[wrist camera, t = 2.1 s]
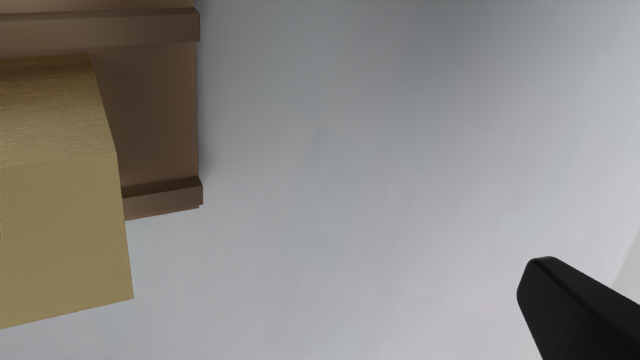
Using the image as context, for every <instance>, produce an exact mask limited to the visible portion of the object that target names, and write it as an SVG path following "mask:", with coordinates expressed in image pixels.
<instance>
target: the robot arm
mask: <svg viewBox="0 0 640 360" xmlns="http://www.w3.org/2000/svg"><path fill="white" fill-rule="evenodd" d="M517 301H518V304H519V307H520V309H521V311H522V314H523V316H524V318H525V321H526V323H527V325H528V327H529V330H530V332H531V334H532V336H533V339H534V341H535V343H536V346H537V348H538V350H539V352H540V355H541V357H542V359H543V360H640V305H639V304H637V303H635V302H634V301H632V300H630V299H628V298H626V297H625V296H623V295H621V294H619V293H618V292H616V291H614V290H612V289H611V288H609V287H607V286H605V285H603V284H602V283H600V282H598V281H596V280H595V279H593V278H591V277H589V276H587V275H586V274H584V273H582V272H580V271H579V270H577V269H575V268H573V267H571V266H570V265H568V264H566V263H564V262H563V261H561V260H559V259H557V258H555V257H552V256H546V257H540V258H534V259H531V260H530V261H529V262H528V263H527V265H526V268H525V270H524V273H523V275H522V278H521V281H520V283H519V286H518V288H517Z"/></svg>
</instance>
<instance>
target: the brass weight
mask: <svg viewBox="0 0 640 360" xmlns="http://www.w3.org/2000/svg"><path fill="white" fill-rule="evenodd" d="M129 299H134V296H133V287H132V279H131V271H130V262H129V254H128V245H127V237H126V229H125V220H124V212H123V204H122V195H121V187H120V178H119V170H118V162H117V153H116V149H115V146H114V142H113V139H112V135H111V131H110V128H109V124H108V121H107V117H106V114H105V110H104V107H103V103H102V99H101V96H100V92H99V89H98V85H97V82H96V78H95V75H94V71H93V68H92V64H91V60H90V57H89V53H80V54H63V55H47V56H30V57H14V58H0V329H3V328H8V327H12V326H16V325H21V324H25V323H29V322H34V321H38V320H42V319H47V318H51V317H55V316H60V315H64V314H69V313H73V312H77V311H82V310H86V309H90V308H95V307H99V306H103V305H108V304H112V303H116V302H121V301H125V300H129Z"/></svg>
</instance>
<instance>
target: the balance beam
mask: <svg viewBox="0 0 640 360" xmlns="http://www.w3.org/2000/svg"><path fill="white" fill-rule="evenodd" d="M195 41H200V14H199V13H198V11H197V10H196V9H195V7H194V0H0V58H14V57H30V56H47V55H63V54H80V53H89V57H90V60H91V64H92V68H93V71H94V75H95V78H96V82H97V85H98V89H99V92H100V96H101V99H102V103H103V107H104V110H105V114H106V117H107V121H108V124H109V128H110V131H111V135H112V139H113V142H114V146H115V149H116V153H117V162H118V170H119V178H120V187H121V195H122V204H123V212H124V220H125V221H127V220H133V219H138V218H144V217H150V216H155V215H161V214H167V213H173V212H178V211H184V210H190V209H195V208H199V205H202V204H203V185H202V183H201V181H200V179H199V177H198V142H197V98H196V54H195Z"/></svg>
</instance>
